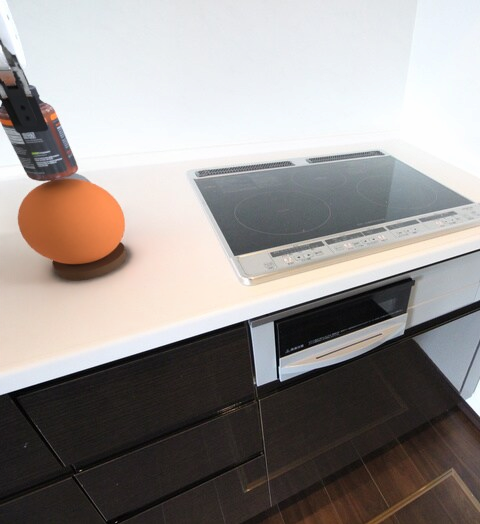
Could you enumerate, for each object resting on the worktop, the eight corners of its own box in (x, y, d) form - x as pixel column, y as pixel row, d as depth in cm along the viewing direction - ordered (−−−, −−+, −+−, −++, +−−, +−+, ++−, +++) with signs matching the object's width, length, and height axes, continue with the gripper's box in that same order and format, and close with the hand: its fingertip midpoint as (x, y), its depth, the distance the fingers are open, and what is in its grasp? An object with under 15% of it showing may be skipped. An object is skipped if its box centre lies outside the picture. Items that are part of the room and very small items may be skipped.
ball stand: (47, 297, 52) (-2, 211, 44) (41, 255, 60) (-2, 175, 52) (145, 268, 59) (117, 188, 51) (128, 233, 67) (101, 160, 59)
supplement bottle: (68, 163, 54) (34, 80, 48) (87, 174, 52) (54, 87, 45) (20, 174, 50) (-24, 85, 44) (38, 186, 48) (-6, 93, 41)
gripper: (-89, -58, 40) (-5, 112, 51) (-123, -73, 29) (-7, 148, 40) (-1, -50, 44) (60, 107, 54) (-2, -60, 33) (74, 138, 44)
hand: (31, 123), depth 47 cm, fingers closed on supplement bottle, 6 cm apart
